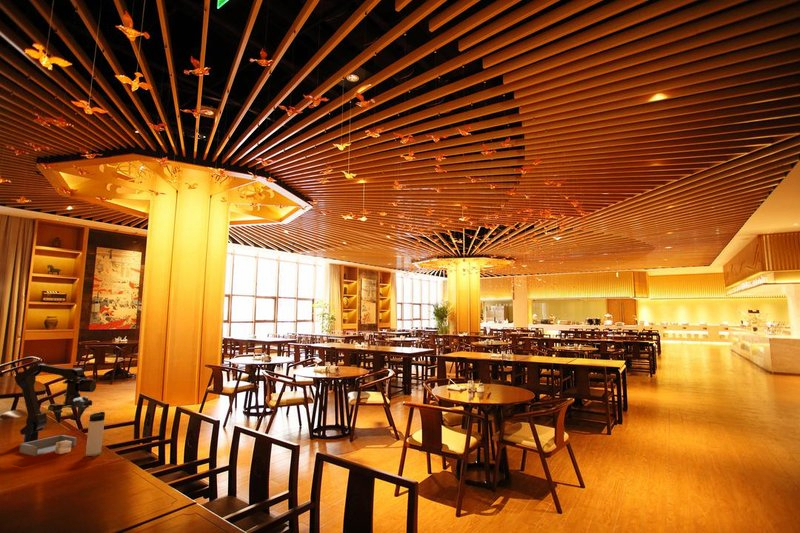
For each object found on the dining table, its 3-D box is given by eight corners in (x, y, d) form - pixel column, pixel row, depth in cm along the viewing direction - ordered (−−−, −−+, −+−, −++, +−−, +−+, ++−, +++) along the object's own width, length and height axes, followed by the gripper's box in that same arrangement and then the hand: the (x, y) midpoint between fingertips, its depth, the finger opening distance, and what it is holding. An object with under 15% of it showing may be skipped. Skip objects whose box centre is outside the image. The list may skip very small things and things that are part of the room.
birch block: (55, 453, 206) (56, 442, 207) (65, 450, 210) (66, 440, 211) (60, 454, 204) (61, 443, 205) (70, 451, 208) (71, 441, 209)
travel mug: (104, 453, 208) (108, 412, 211) (93, 457, 202) (98, 414, 205) (93, 452, 209) (97, 411, 212) (82, 456, 203) (86, 414, 205)
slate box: (19, 453, 206) (20, 443, 207) (61, 443, 223) (62, 434, 224) (34, 456, 201) (35, 447, 202) (75, 446, 218) (76, 437, 219)
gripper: (61, 395, 214) (56, 427, 212) (99, 390, 230) (96, 419, 228) (49, 393, 218) (45, 424, 216) (88, 389, 235) (84, 417, 233)
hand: (68, 421), depth 223 cm, fingers open, 9 cm apart
